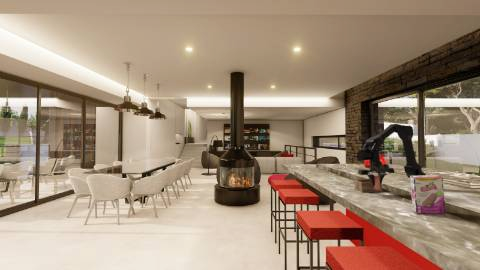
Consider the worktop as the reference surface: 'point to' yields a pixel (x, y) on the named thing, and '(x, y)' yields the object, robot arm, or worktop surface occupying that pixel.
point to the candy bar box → (427, 194)
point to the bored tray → (365, 185)
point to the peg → (377, 182)
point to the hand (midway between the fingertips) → (377, 185)
